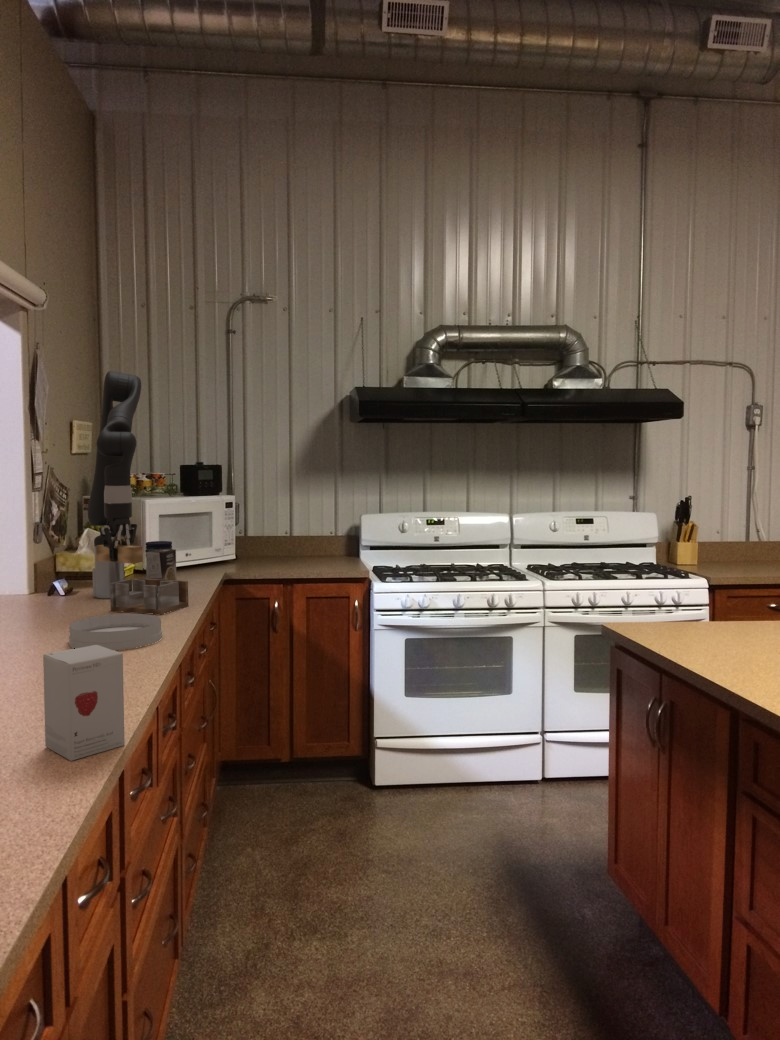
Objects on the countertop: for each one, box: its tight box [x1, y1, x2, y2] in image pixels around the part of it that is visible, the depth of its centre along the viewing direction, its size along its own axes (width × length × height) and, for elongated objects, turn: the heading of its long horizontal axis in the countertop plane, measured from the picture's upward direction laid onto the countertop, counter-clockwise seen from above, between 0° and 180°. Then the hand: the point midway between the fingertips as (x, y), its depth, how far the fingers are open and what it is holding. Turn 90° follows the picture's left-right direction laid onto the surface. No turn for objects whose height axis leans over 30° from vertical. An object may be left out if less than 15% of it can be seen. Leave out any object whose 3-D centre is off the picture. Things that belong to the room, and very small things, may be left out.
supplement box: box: [42, 645, 126, 762], centre depth 116 cm, size 9×9×15 cm
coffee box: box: [145, 548, 177, 580], centre depth 245 cm, size 9×6×16 cm
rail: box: [96, 545, 144, 565], centre depth 215 cm, size 13×4×4 cm, turn 71°
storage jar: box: [144, 540, 173, 553], centre depth 282 cm, size 10×10×15 cm
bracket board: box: [109, 578, 189, 615], centre depth 228 cm, size 18×14×8 cm
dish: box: [68, 613, 163, 651], centre depth 187 cm, size 22×22×5 cm
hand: (119, 559), depth 215 cm, fingers closed on rail, 4 cm apart
